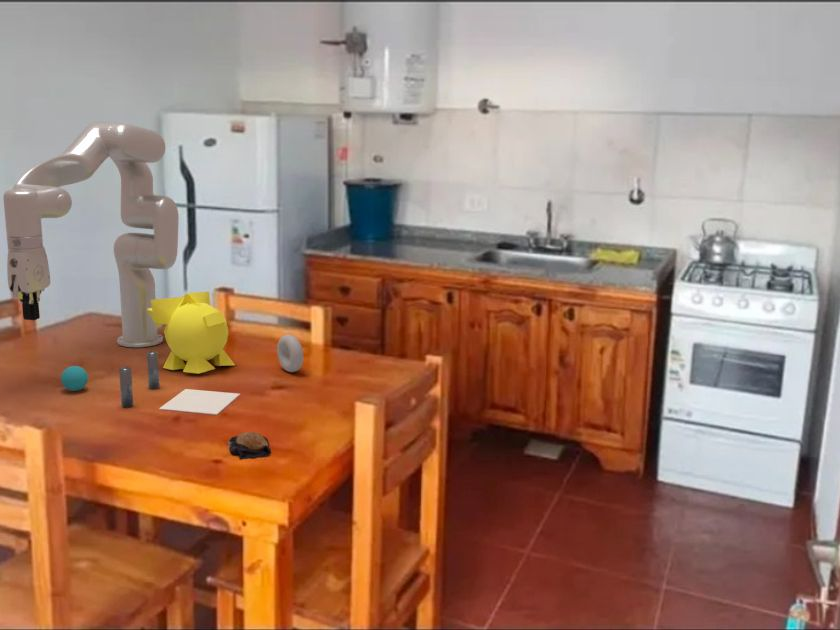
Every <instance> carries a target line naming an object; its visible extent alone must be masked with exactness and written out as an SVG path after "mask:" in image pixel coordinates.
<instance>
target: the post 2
mask: <svg viewBox="0 0 840 630" xmlns="http://www.w3.org/2000/svg"><path fill="white" fill-rule="evenodd" d="M146 364H147V365H146V367H147V382H148V383H147V384H148V389H149V390H158V389H159V388H160V386H161V385H160V370H159V369H160V367H159V351H157V350H149V351H147V352H146Z"/></svg>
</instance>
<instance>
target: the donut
mask: <svg viewBox="0 0 840 630" xmlns="http://www.w3.org/2000/svg"><path fill="white" fill-rule="evenodd" d="M277 342H278V343H277V346H276V353H277V354H276V355H277V358H278V362H279V364H280V366H281V367H282V368H283V369H284V370H285V371H287V372H289V373H295V372H298V371H299V370H301V367H302V366H303V362H304V351H303V347H302V345H301V342H300V340H299V339H298V338H297V337H296V336H294V335H292V334H285V335H283V336H281V337H280V339H279V340H278V341H277Z"/></svg>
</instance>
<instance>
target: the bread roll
mask: <svg viewBox="0 0 840 630" xmlns="http://www.w3.org/2000/svg"><path fill="white" fill-rule="evenodd" d="M227 445H228V447H229V448H228V450H229V452H230V453H231V455H233V456H234V457H239V460H241V461H242V460H246V459H249V460H250V459H251V460H252V459H259V458H260V459H261V458H266V457H267V458H268V456H270V454H272V450H271V448H270V442H269V439H268V438H267V437H266V436H263V435H262V434H260V433H258V432H257V431H248V432H242V433H240V434H238V435H236V436H232V437H231V438H230V439H229V440H228V441H227Z"/></svg>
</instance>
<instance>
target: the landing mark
mask: <svg viewBox="0 0 840 630" xmlns="http://www.w3.org/2000/svg"><path fill="white" fill-rule="evenodd" d="M240 395H241V393H236V392H226V391H225V392H223V391H212V390H211V391H210V390H202V389H201V390H200V389H189V388H185V389H183V390H182V391H181V392H179V393H177V394H176V395H175V396H174V397H173V398H172V399H169V401H167V402H166V403H165V404H163V405H162V406H160V407H159V408H158V410H161V411H163V410H164V411H170V412H171V411H172V412H183V413H192V414H193V413H194V414H202V415H203V414H205V415H214V416H215V415H216V416H217V415H218V414H220V413H221V412H222V411H223V410H224V409H226V408H227V407H228V406H229V405H230V404H231V403H232V402H233V401H235V400H236V399H237V398H238V397H239V396H240Z"/></svg>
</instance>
